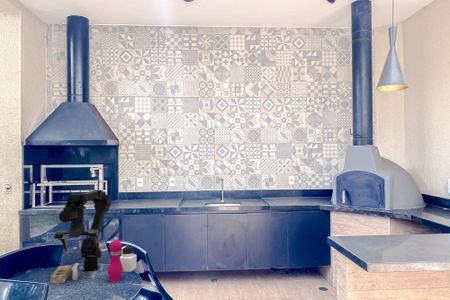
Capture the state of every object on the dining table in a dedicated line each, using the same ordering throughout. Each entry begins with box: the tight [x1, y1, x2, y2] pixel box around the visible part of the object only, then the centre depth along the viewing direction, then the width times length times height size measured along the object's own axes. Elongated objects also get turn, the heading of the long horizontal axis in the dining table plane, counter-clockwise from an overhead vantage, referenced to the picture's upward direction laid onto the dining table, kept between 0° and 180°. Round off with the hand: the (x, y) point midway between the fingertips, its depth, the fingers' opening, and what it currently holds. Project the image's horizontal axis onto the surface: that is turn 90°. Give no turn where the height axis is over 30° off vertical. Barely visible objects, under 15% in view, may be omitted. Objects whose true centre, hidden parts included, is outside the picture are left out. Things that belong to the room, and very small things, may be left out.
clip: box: [72, 262, 81, 281], centre depth 166 cm, size 2×7×6 cm, turn 14°
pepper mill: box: [106, 236, 123, 283], centre depth 163 cm, size 7×7×20 cm
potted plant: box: [120, 245, 138, 273], centre depth 179 cm, size 7×7×12 cm
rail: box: [50, 265, 72, 284], centre depth 167 cm, size 6×17×3 cm, turn 15°
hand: (76, 251), depth 167 cm, fingers open, 9 cm apart
